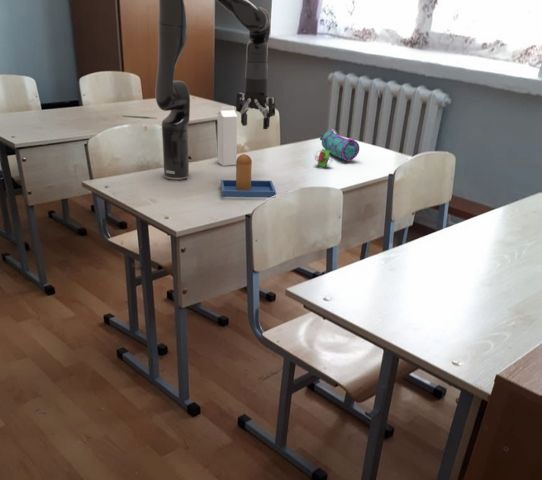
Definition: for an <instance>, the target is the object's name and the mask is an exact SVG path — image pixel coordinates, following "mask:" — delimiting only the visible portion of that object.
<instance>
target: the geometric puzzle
mask: <svg viewBox="0 0 542 480" xmlns="http://www.w3.org/2000/svg"><path fill="white" fill-rule="evenodd" d="M330 157H331V153H330V151H328V150H325V149H324V148H322V149H321V150H320V151H316V152H315V154H314V159H315V160H316V166H319V167H322V168H326V167H327V166H328V165H330V163H329V161H331V162H333V159H330Z"/></svg>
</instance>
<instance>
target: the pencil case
mask: <svg viewBox="0 0 542 480" xmlns="http://www.w3.org/2000/svg"><path fill="white" fill-rule="evenodd" d="M319 141H321V146H322V149H325V150H328V151H330V153H329V154H330V155H331V154H332V156H335V157H337V158H339V159H340V160H341V159H342V160H344V161H346V162H351V161H353V160H354V159H355V158H356V157H357V156H358V155H359V152H360V144H359V142H357V140H355V139H354V138H345V137H343V136H341V135H340V134H338V131H337V130H336V129H329V130H327V131H325V133H324V134H321V135H320V137H319Z"/></svg>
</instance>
